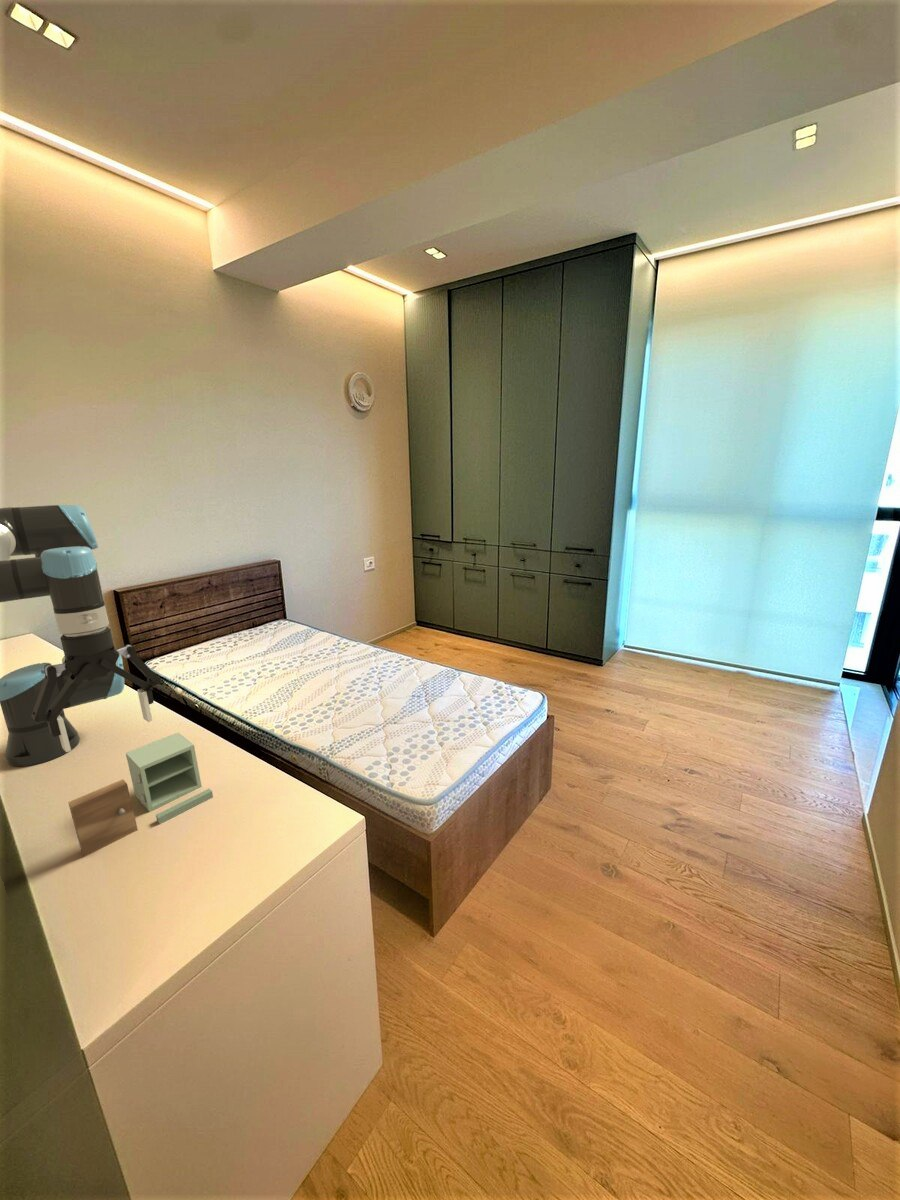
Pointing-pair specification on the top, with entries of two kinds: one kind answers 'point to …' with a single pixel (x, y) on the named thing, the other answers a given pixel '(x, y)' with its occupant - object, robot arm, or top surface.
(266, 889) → the top surface
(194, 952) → the top surface
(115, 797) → the brown boxy piece
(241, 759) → the top surface
